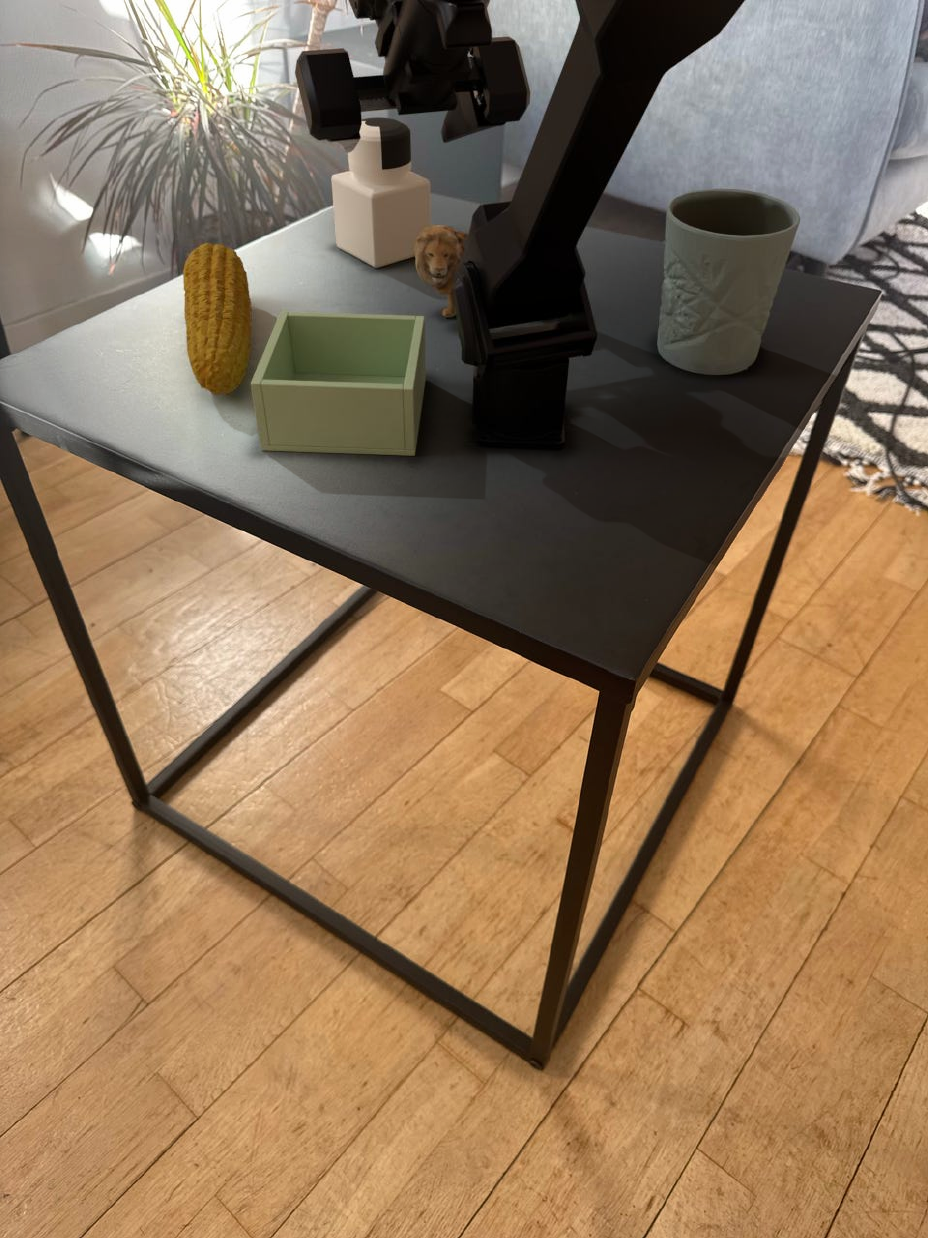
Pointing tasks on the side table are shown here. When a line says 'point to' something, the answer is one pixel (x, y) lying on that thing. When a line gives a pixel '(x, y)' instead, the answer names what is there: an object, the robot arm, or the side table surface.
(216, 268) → the food
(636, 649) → the side table surface
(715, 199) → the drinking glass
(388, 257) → the medicine bottle
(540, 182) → the robot arm
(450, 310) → the lion figurine
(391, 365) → the bin
